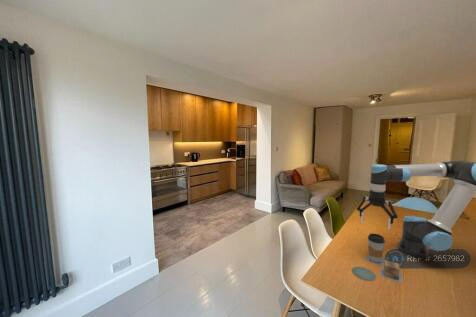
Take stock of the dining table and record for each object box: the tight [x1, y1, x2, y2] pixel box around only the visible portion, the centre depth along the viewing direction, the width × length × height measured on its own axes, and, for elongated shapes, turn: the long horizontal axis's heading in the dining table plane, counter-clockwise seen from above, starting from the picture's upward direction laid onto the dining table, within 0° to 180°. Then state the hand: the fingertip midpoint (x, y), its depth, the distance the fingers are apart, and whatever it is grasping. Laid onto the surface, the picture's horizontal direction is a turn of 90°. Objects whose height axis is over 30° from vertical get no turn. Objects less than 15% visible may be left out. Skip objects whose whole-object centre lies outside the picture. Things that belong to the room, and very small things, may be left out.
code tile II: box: [379, 267, 403, 284], centre depth 109 cm, size 9×9×1 cm
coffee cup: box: [367, 233, 386, 263], centre depth 122 cm, size 8×8×15 cm
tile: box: [364, 253, 386, 268], centre depth 123 cm, size 9×9×1 cm
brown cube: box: [383, 259, 400, 280], centre depth 109 cm, size 6×6×6 cm
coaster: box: [351, 266, 377, 282], centre depth 110 cm, size 11×11×1 cm
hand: (375, 225), depth 122 cm, fingers open, 13 cm apart
